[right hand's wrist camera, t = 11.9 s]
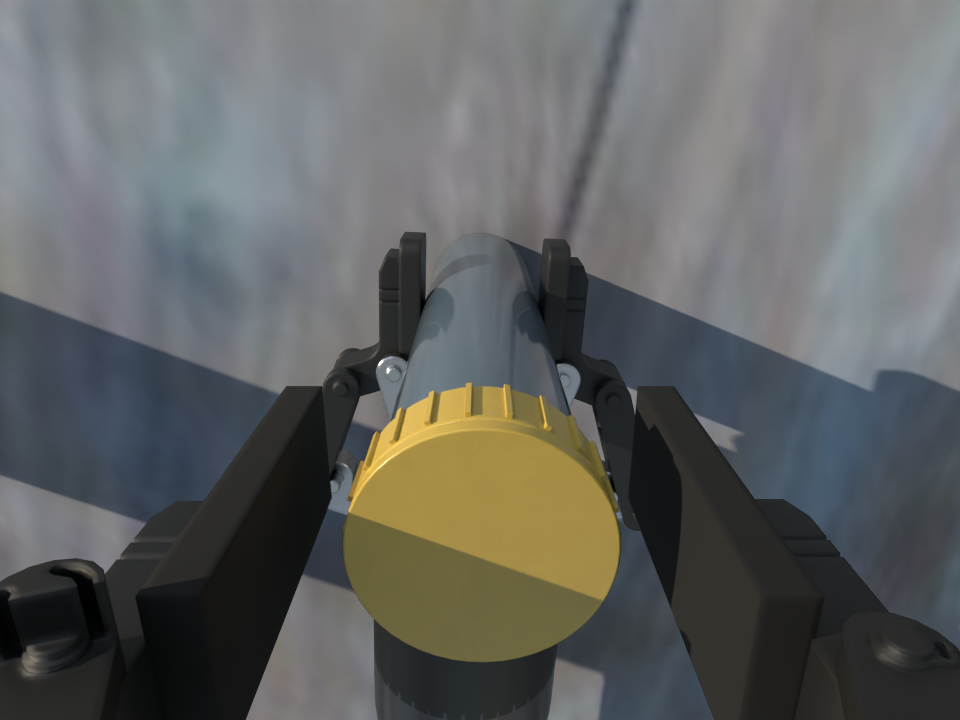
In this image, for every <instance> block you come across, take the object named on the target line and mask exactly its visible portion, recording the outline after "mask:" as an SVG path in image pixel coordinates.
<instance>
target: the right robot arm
mask: <svg viewBox="0 0 960 720" xmlns="http://www.w3.org/2000/svg"><path fill="white" fill-rule="evenodd" d="M331 499H332V493H331V482H330V470H329V459H328V448H327V437H326V425H325V414H324V403H323V391H322V386H286V387H285V389H284V390H283V392H282V393H281V394H280V396H279V397H278V399H277V400H276V401H275V403H274V404H273V405H272V407H271V408H270V410H269V411H268V412H267V414H266V415H265V417H264V418H263V419H262V421H261V422H260V424H259V425H258V426H257V428H256V429H255V431H254V432H253V433H252V435H251V436H250V437H249V439H248V440H247V442H246V443H245V444H244V446H243V447H242V449H241V450H240V451H239V453H238V454H237V456H236V457H235V458H234V460H233V461H232V463H231V464H230V465H229V467H228V468H227V469H226V471H225V472H224V474H223V475H222V476H221V478H220V479H219V481H218V482H217V483H216V485H215V486H214V488H213V489H212V490H211V492H210V493H209V494H208V496H207V497H206V499H205V500H204V501H177V502H175V503H174V504H172V505H170V506H169V507H167V508H166V509H164V510H163V511H161V512H160V513H158V514H157V515H155V516H154V517H152V518H151V519H150V520H149V521H148V522H147V524H146V525H145V526H144V527H143V528H142V530H141V531H140V532H139V533H138V535H137V536H136V537H135V538H134V543H130V544H129V546H128V547H127V548H126V549H125V550H124V552H123V553H122V554H121V555H120V556H121V557H120V560H116V561H115V563H114V564H113V565H112V566H111V567H110V569H109V570H108V571H107V572H106V574H104V570H103V569H102V568H101V567H100V566H98V565H97V564H96V563H95V562H93V561H88V560H82V559H77V558H75V559H63V560H53V561H50V562H46V563H42V564H39V565H35V566H31V567H28V568H26V569H24V570H22V571H20V572H18V573H15V574H13V575H11V576H9V577H7V578H5V579H4V580H2V581H1V582H0V720H246V717H247V715H248V712H249V710H250V707H251V705H252V702H253V699H254V697H255V694H256V692H257V689H258V687H259V684H260V681H261V679H262V676H263V674H264V671H265V669H266V666H267V663H268V661H269V658H270V656H271V653H272V651H273V648H274V645H275V643H276V640H277V638H278V635H279V633H280V630H281V627H282V625H283V622H284V620H285V617H286V615H287V612H288V609H289V607H290V604H291V602H292V599H293V597H294V594H295V591H296V589H297V586H298V584H299V581H300V579H301V576H302V573H303V571H304V568H305V566H306V563H307V561H308V558H309V555H310V553H311V550H312V548H313V545H314V543H315V540H316V537H317V535H318V532H319V530H320V527H321V525H322V522H323V519H324V517H325V514H326V512H327V509H328V507H329V504H330V501H331ZM628 499H629V501H630V504H631V507H632V509H633V512H634V514H635V517H636V519H637V522H638V525H639V527H640V530H641V532H642V535H643V537H644V540H645V543H646V545H647V548H648V550H649V553H650V556H651V558H652V561H653V563H654V566H655V568H656V571H657V574H658V576H659V579H660V581H661V584H662V586H663V589H664V592H665V594H666V597H667V599H668V602H669V604H670V607H671V610H672V612H673V615H674V617H675V620H676V622H677V625H678V628H679V630H680V633H681V635H682V638H683V640H684V643H685V646H686V648H687V651H688V653H689V656H690V658H691V661H692V664H693V666H694V669H695V671H696V674H697V676H698V679H699V682H700V684H701V687H702V689H703V692H704V694H705V697H706V700H707V702H708V705H709V707H710V710H711V712H712V715H713V718H714V720H960V651H959V650H958V648H957V647H956V646H955V645H953V644H952V643H951V642H950V641H948V640H947V639H946V638H945V637H943V636H942V635H941V634H940V633H939V632H937V631H935V630H933V629H931V628H929V627H927V626H925V625H923V624H922V623H920V622H918V621H916V620H913V619H910V618H906V617H903V616H900V615H897V614H894V613H889V612H888V610H887V609H886V608H885V607H884V606H883V604H882V603H881V602H880V601H879V600H878V598H877V597H876V596H875V595H874V594H873V592H872V591H871V590H870V589H869V587H868V586H867V585H866V584H865V583H864V581H863V580H862V579H861V578H860V577H859V575H858V574H857V573H856V572H855V571H854V569H853V568H852V567H851V566H850V564H849V563H848V562H847V561H846V560H845V558H844V557H840V552H839V551H838V550H837V549H836V548H835V546H834V545H833V544H832V543H831V541H830V540H827V539H826V535H825V534H824V533H823V532H822V531H821V529H820V528H819V527H818V526H817V524H816V523H815V522H814V521H813V520H812V518H811V517H810V516H808V515H807V514H805V513H804V512H802V511H801V510H799V509H798V508H796V507H795V506H793V505H792V504H790V503H789V502H787V501H785V500H784V499H754V497H753V496H752V495H751V493H750V492H749V490H748V489H747V488H746V486H745V485H744V483H743V482H742V481H741V479H740V478H739V476H738V475H737V474H736V472H735V471H734V469H733V468H732V467H731V465H730V464H729V463H728V461H727V460H726V458H725V457H724V456H723V454H722V453H721V451H720V450H719V449H718V447H717V446H716V444H715V443H714V442H713V440H712V439H711V438H710V436H709V435H708V433H707V432H706V431H705V429H704V428H703V426H702V425H701V424H700V422H699V421H698V419H697V418H696V417H695V415H694V414H693V412H692V411H691V410H690V408H689V407H688V406H687V404H686V403H685V401H684V400H683V399H682V397H681V396H680V394H679V393H678V392H677V390H676V389H675V387H674V386H638V391H637V403H636V414H635V425H634V436H633V448H632V459H631V470H630V481H629V493H628Z"/></svg>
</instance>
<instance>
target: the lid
mask: <svg viewBox="0 0 960 720" xmlns="http://www.w3.org/2000/svg"><path fill="white" fill-rule="evenodd" d="M347 501H349V502H351V505H350V508H349V511H348V514H347V518H346V521H345V524H344V527H343V558H344V563H345V568H346V572H347V575H348V578H349V580H350V583H351V586H352V588H353V590H354V592H355V594H356V595H357V597H358V599H359V601H360V602H361V604H362V605H363V606H364V608H365V609H366V610H367V612H368V613H369V614H370V615H371V616H372V617H373V618H374V619H375V620H376V621H377V622H378V623H379V625H381V626H382V627H383V628H384V629H386V630H387V631H388V632H389V633H391V634H392V635H393V636H395V637H397V638H398V639H400V640H401V641H403V642H405V643H406V644H408V645H411V646H413V647H415V648H417V649H419V650H421V651H424V652H427V653H430V654H433V655H435V656H439V657H443V658H448V659H452V660H459V661H467V662H495V661H505V660H511V659H516V658H521V657H524V656H528V655H531V654H535V653H537V652H540V651H542V650H544V649H547V648H549V647H552V646H553V645H555V644H557V643H559V642H561V641H562V640H564V639H566V638H567V637H569V636H570V635H571V634H573V633H574V632H576V631H577V630H578V629H579V628H581V627H582V626H583V625H584V624H585V623H586V622H587V621H588V620H589V619H590V618H591V617H592V616H593V615H594V613H595V612H596V611H597V610H598V609H599V608H600V606H601V605H602V603H603V601H604V600H605V598H606V597H607V595H608V593H609V591H610V589H611V587H612V585H613V582H614V580H615V577H616V574H617V570H618V566H619V561H620V553H621V533H620V528H619V523H618V518H617V515H616V513H618V512H619V507H618V504H617V501H616V498H615V496H614V493H613V490H612V487H611V484H610V481H609V478H608V476H607V473H606V471H605V469H604V467H603V464H602V461H601V458H600V455H599V452H598V449H597V446H596V444H595V442H594V441H591V442H589V441H588V440H587V438H586V437H585V435H584V434H583V433H582V431H581V430H580V429H579V428H578V426H577V423H576V419H575V417H573V416H572V415H570V416H569V417H567V416H566V415H564V414H563V413H562V412H560V411H559V410H558V409H557V408H555V407H553V406H552V405H550V404H548V403H547V401H546V397H544V396H542V395H540V396H539V398H536V397H534V396H531V395H529V394H526V393H523V392H519V391H515V390H512V389H511V388H510V385H507V384H504V387H503V388H499V387H487V386H474V387H472V383H466V387H462V388H457V389H453V390H448V391H444V392H441V393H438V394H436V392H435V390H434V391H431V392H429V396H428V397H427V398H425V399H423V400H421V401H419V402H417V403H415V404H413V405H412V406H410V407H409V408H407V409H406V410H404V409H403V408H402V407H401V408H400V409H398V410H397V414H396V417H395V418H394V419H393V420H392V421H391V422H390V423H389V424H388V425H387V426H386V427H385V428H384V430H383V431H382V432H381V433H379V432H377V431H376V432H375V434H374V435H373V438H372V441H371V444H370V447H369V450H368V453H367V456H366V459H365V461H362V460H361V461H360V463H359V466H358V469H357V472H356V475H355V478H354V481H353V483H352V486H351V489H350V492H349V495H348V498H347Z"/></svg>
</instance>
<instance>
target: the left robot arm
mask: <svg viewBox="0 0 960 720" xmlns="http://www.w3.org/2000/svg"><path fill="white" fill-rule="evenodd" d="M587 288H588V279H587V276H586V273H585V269H584V266H583V265H582V263H581V262H580V260H579V259H578V257H570V246H569V245H568V243H567V242H566V241H565V240H564V239H544V242H543V250H542V263H541V275H540V288H539V301H538V305H539V308H540V312H541V315H542V318H543V321H544V325H545V328H546V331H547V335H548V338H549V341H550V345H551V348H552V351H553V354H554V358H555V361H556V364H557V368H558V371H559V374H560V377H561V381H562V384H563V387H564V391H565V394H566V397H567V401H568V404H569V407H571V405H572V402H573V400H574V398H575V399H577V400H580V401H582V402H585V403H587V404H590V405H592V408H593V412H594V416H595V420H596V424H597V428H598V433H599V437H600V441H601V445H602V449H603V454H604V458H605V461H602V460H601V461H602V464H603V467H604V469H605V471H606V473H607V476H608V478H609V481H610V484H611V487H612V490H613V493H614V496H615V498H616V501H617V504H618V507H619V512H618V513H616V515H617V518H618V520H619V519H623V521H624V523H625V525H626V526H627V527H628V528H630V529H632V530H636V531H640V527H639V525H638V522H637V519H636V517H635V514H634V512H633V509H632V507H631V504H630V501H629V499H628V493H629V481H630V470H631V459H632V448H633V436H634V425H635V413H634V408H633V404H632V399H631V395H630V393H629V391H628V389H627V387H626V385H625V383H624V381H623V380H622V378H621V376H620V374H619V372H618V370H617V368H616V367H615V365H614V364H613V363H612V362H610V361H608V360H596V359H593V358H591V357H588V356H586V355H585V354H583V353H582V352H581V346H582V336H583V327H584V317H585V308H586V298H587ZM425 291H426V233H419V232H405V233H404V234H403V236H402V238H401V240H400V248H399V249H390V250H389V252H388V253H387V255H386V256H385V258H384V261H383V263H382V266H381V268H380V270H379V335H380V341H379V342H378V343H377V344H376V345H374V346H371V347H368V348H365V349H362V350H359V349H356V348H350V349H347V350H345V351H343V352H342V353H341V354H340V356H339V357H338V359H337V361H336V364H335V367H334V368H333V370H332V371H331V372H330V373H329V374H328V376H327V378H326V379H325V381H324V384H323V387H322V391H323V403H324V414H325V425H326V437H327V448H328V459H329V470H330V482H331V493H332V499H331V501H330V504H329V507H328V509H329V510H332V511H335V512H338V513H341V514H345V515H347V514H348V511H349V508H350V505H351V502H349V501H347V498H348V495H349V492H350V489H351V486H352V483H353V481H354V478H355V475H356V472H357V461H356V459H355V457H354V456H353V455H352V454H351V453H350V452H349V451H347V450H342V448H343V445H344V442H345V439H346V436H347V433H348V430H349V427H350V424H351V421H352V419H353V416H354V413H355V410H356V407H357V404H358V401H359V398H360V396H363V395H366V394H370V393H373V392H376V391H380V390H381V393H382V396H383V400H384V403H385V406H386V409H387V412H388V416H389V419H390V418H391V415H392V411H393V408H394V405H395V401H396V398H397V395H398V391H399V388H400V385H401V381H402V378H403V375H404V371H405V368H406V365H407V361H408V358H409V355H410V351H411V348H412V344H413V341H414V338H415V334H416V331H417V328H418V324H419V321H420V318H421V314H422V311H423V308H424V304H425ZM556 650H557V644H555V645H553V646H552V647H549V648H547V649H544V650H542V651H540V652H537V653H535V654H531V655H528V656H524V657H521V658H516V659H511V660H505V661H495V662H467V661H459V660H452V659H448V658H443V657H439V656H435V655H433V654H430V653H427V652H424V651H421V650H419V649H417V648H415V647H413V646H411V645H408V644H406V643H405V642H403V641H401V640H400V639H398V638H397V637H395V636H393V635H392V634H391V633H389V632H388V631H387V630H386V629H384V628H383V627H382V626H381V625H379V623H378V622H377V621H376V620H375V619H374V672H375V704H376V711H377V717H378V720H548V715H549V711H550V704H551V696H552V687H553V678H554V669H555V660H556Z"/></svg>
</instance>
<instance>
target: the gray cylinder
mask: <svg viewBox="0 0 960 720" xmlns="http://www.w3.org/2000/svg"><path fill="white" fill-rule="evenodd" d="M466 383H472V387H474V386H487V387H499V388H503V387H504V384H507V385H510V388H511V389H512V390H515V391H519V392H523V393H526V394H529V395H531V396H534V397H536V398H539V396H540V395H542V396H544V397H546V401H547V403H548V404H550V405H552V406H553V407H555V408H557V409H558V410H559V411H560V412H562V413H563V414H564V415H566V416H567V417H569V416H570V415H572V414H571V410H570V407H569V404H568V401H567V397H566V394H565V391H564V387H563V384H562V381H561V377H560V374H559V371H558V368H557V364H556V361H555V358H554V354H553V351H552V348H551V345H550V341H549V338H548V335H547V331H546V328H545V325H544V321H543V318H542V315H541V312H540V308H539V305H538V302H537V298H536V295H535V292H534V288H533V285H532V282H531V279H530V275H529V272H528V269H527V266H526V263H525V261H524V259H523V257H522V255H521V254H520V252H519V251H518V250H517V249H516V248H515V247H514V246H513V245H512V244H511V243H510V242H508V241H506V240H505V239H503V238H501V237H499V236H495V235H492V234H485V233H478V234H471V235H467V236H464V237H462V238H460V239H458V240H456V241H455V242H453V243H452V244H450V245H449V246H448V247H447V248H446V249H445V251H444V252H443V253H442V255H441V256H440V258H439V260H438V262H437V264H436V268H435V271H434V274H433V278H432V281H431V284H430V288H429V291H428V294H427V298H426V301H425V304H424V308H423V311H422V314H421V318H420V321H419V324H418V328H417V331H416V334H415V338H414V341H413V344H412V348H411V351H410V355H409V358H408V361H407V365H406V368H405V371H404V375H403V378H402V381H401V385H400V388H399V391H398V395H397V398H396V401H395V405H394V408H393V411H392V415H391V418H390V421H389V423H390V422H391V421H392V420H393V419H394V418H395V417H396V414H397V410H398V409H400V408H401V407H402V408H403V409H404V410H406V409H407V408H409V407H410V406H412V405H413V404H415V403H417V402H419V401H421V400H423V399H425V398H427V397H428V396H429V392H431V391H434V390H435V392H436V394H438V393H441V392H444V391H448V390H453V389H457V388H462V387H466Z"/></svg>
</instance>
